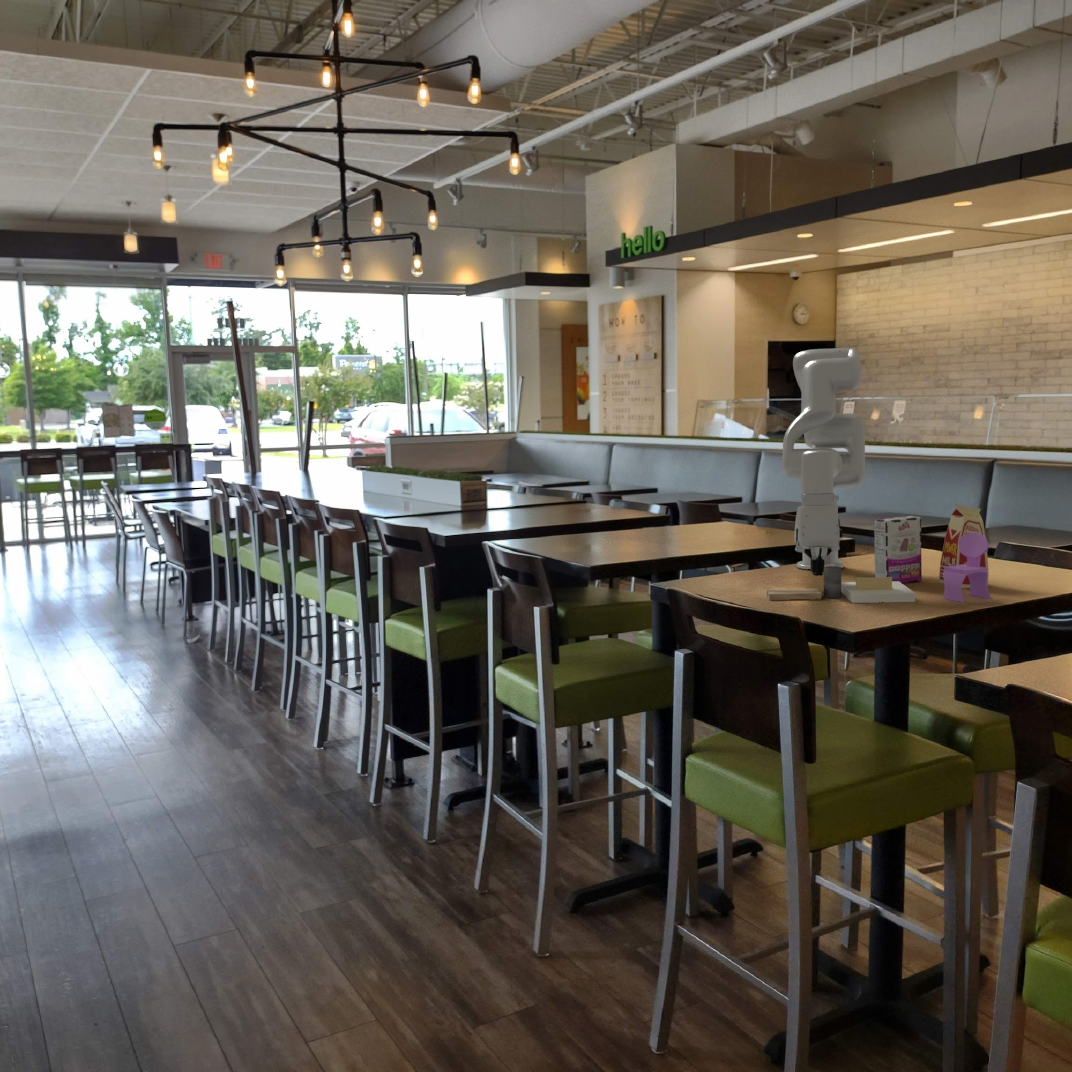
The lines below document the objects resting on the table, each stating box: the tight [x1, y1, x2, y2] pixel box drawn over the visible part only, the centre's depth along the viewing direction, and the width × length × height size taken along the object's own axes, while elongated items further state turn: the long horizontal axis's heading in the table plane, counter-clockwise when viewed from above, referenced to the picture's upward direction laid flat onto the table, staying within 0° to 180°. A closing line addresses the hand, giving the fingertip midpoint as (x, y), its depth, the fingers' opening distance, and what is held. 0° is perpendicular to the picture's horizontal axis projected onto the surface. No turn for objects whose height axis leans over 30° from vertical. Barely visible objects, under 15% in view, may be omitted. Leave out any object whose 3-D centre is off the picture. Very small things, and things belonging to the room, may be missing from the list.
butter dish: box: [841, 576, 916, 604], centre depth 238 cm, size 16×14×5 cm
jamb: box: [766, 566, 842, 601], centre depth 240 cm, size 6×17×7 cm, turn 83°
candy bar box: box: [873, 515, 923, 584], centre depth 254 cm, size 11×5×16 cm, turn 112°
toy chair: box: [942, 533, 993, 603], centre depth 230 cm, size 8×9×15 cm
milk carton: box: [938, 503, 990, 589], centre depth 248 cm, size 9×9×20 cm
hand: (817, 574), depth 249 cm, fingers closed
